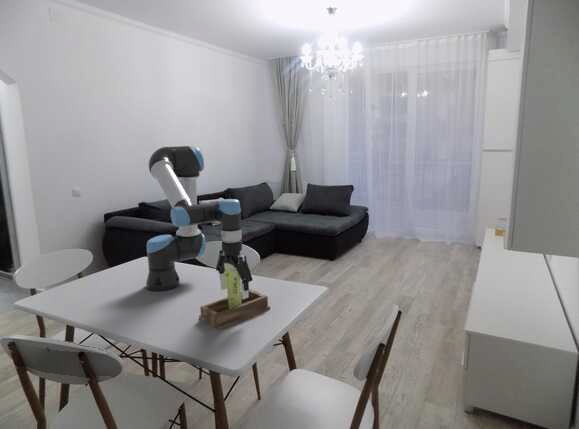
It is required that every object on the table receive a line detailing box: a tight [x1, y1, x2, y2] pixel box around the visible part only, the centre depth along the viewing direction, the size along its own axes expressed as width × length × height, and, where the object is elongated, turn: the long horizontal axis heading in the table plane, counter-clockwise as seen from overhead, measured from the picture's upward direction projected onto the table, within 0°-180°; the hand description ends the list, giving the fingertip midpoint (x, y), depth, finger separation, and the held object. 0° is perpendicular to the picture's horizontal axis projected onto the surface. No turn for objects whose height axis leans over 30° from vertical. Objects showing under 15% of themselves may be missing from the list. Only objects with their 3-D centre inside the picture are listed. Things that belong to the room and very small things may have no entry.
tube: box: [224, 263, 242, 309], centre depth 152 cm, size 6×5×20 cm
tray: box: [198, 288, 271, 331], centre depth 153 cm, size 14×24×5 cm, turn 134°
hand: (234, 293), depth 152 cm, fingers open, 13 cm apart
